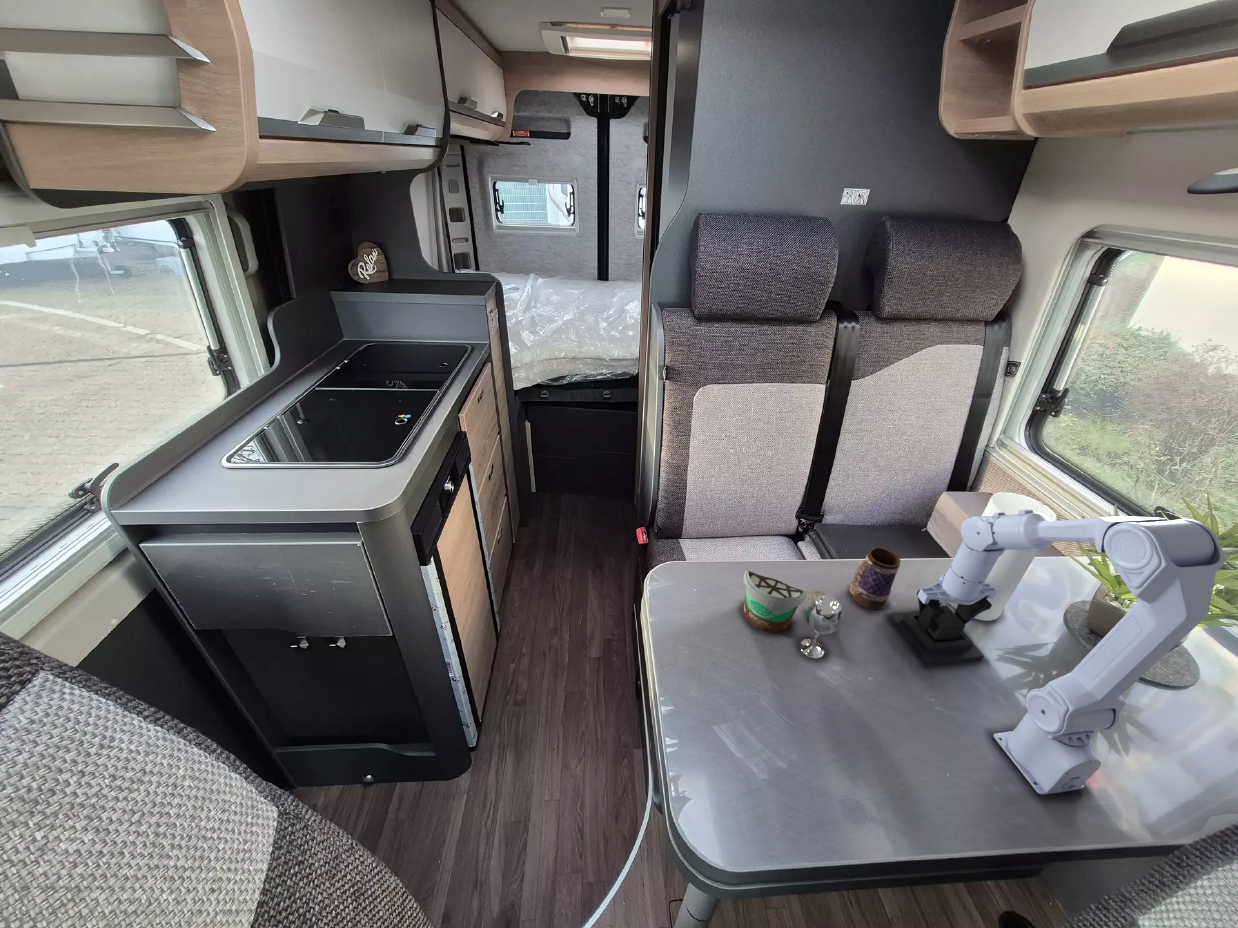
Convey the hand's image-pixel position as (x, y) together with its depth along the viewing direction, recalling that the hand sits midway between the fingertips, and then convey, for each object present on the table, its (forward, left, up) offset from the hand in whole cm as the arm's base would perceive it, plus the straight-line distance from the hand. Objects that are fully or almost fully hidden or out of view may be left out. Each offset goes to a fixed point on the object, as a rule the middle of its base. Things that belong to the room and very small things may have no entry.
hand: (940, 624), depth 102 cm
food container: (+7, +33, -4) cm, 34 cm away
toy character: (+8, +21, -4) cm, 23 cm away
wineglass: (0, +26, -4) cm, 26 cm away
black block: (0, 0, -2) cm, 3 cm away
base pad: (0, 0, -4) cm, 4 cm away
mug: (+11, +9, -4) cm, 15 cm away
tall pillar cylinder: (+8, -15, -4) cm, 17 cm away
